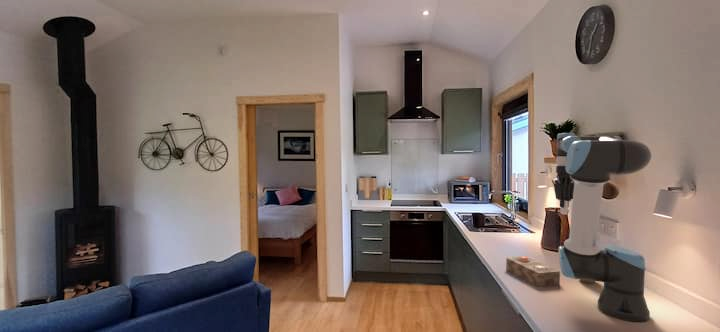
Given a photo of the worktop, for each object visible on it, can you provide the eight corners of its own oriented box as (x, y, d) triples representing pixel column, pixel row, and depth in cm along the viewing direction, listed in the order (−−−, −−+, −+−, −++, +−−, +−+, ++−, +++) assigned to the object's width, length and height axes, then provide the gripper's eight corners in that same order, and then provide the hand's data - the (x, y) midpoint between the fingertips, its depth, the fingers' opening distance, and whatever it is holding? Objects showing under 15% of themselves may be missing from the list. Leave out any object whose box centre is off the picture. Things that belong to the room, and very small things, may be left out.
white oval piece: (546, 281, 152) (547, 268, 152) (539, 281, 151) (539, 268, 151) (540, 278, 156) (540, 265, 156) (533, 278, 155) (533, 265, 155)
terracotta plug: (529, 270, 163) (530, 258, 163) (522, 271, 162) (522, 258, 162) (524, 267, 167) (524, 255, 166) (517, 268, 166) (517, 256, 166)
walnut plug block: (559, 284, 149) (559, 271, 149) (538, 286, 147) (538, 273, 147) (525, 268, 171) (525, 256, 171) (506, 269, 169) (506, 257, 168)
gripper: (570, 165, 166) (568, 212, 167) (547, 165, 163) (546, 213, 164) (583, 165, 159) (581, 215, 159) (560, 165, 156) (558, 215, 157)
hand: (564, 214), depth 162 cm, fingers closed
